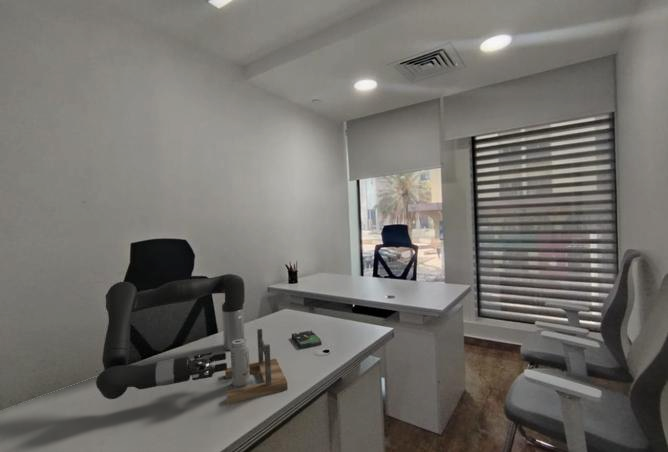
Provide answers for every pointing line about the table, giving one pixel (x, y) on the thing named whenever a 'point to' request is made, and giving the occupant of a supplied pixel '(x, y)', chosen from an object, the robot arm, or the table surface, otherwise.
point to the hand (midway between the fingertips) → (226, 360)
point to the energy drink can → (240, 363)
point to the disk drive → (306, 339)
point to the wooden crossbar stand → (269, 375)
